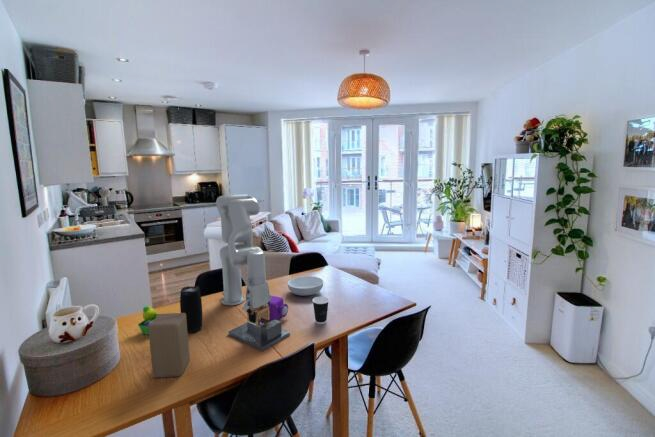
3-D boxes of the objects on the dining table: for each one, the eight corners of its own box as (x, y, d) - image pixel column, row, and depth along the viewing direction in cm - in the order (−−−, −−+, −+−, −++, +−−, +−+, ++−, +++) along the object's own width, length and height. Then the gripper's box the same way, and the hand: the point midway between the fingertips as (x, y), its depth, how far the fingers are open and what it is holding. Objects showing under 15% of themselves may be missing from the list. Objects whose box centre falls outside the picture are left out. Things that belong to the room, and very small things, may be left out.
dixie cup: (317, 316, 162) (317, 295, 161) (332, 320, 159) (331, 298, 157) (309, 323, 155) (309, 301, 154) (324, 327, 152) (324, 304, 150)
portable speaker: (206, 324, 155) (203, 285, 152) (197, 334, 146) (194, 292, 143) (188, 324, 155) (185, 284, 152) (178, 334, 146) (175, 292, 143)
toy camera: (284, 323, 155) (284, 303, 154) (257, 321, 158) (256, 301, 157) (291, 313, 166) (291, 294, 164) (266, 311, 169) (265, 293, 167)
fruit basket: (151, 337, 144) (149, 313, 142) (135, 334, 146) (133, 310, 145) (171, 325, 154) (169, 302, 153) (155, 323, 157) (153, 300, 155)
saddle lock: (247, 320, 144) (246, 307, 143) (258, 315, 149) (258, 302, 148) (258, 325, 139) (257, 311, 139) (269, 319, 144) (269, 306, 144)
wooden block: (163, 362, 125) (159, 312, 122) (190, 360, 126) (186, 311, 123) (152, 379, 115) (146, 325, 112) (181, 377, 116) (177, 324, 113)
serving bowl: (303, 284, 208) (303, 273, 206) (330, 291, 195) (330, 280, 194) (280, 294, 191) (279, 283, 190) (308, 303, 179) (308, 291, 178)
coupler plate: (228, 334, 146) (227, 318, 144) (256, 321, 158) (256, 306, 157) (261, 351, 132) (261, 333, 131) (289, 335, 145) (289, 319, 144)
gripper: (246, 287, 132) (248, 329, 135) (277, 276, 146) (278, 314, 149) (234, 283, 137) (236, 324, 140) (266, 272, 150) (267, 310, 153)
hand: (258, 318), depth 144 cm, fingers closed on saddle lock, 6 cm apart
